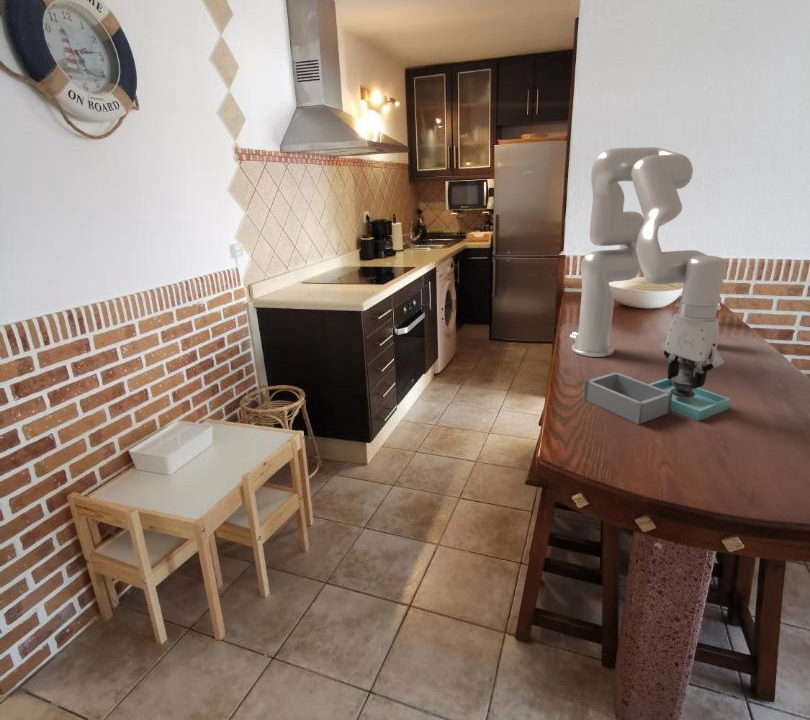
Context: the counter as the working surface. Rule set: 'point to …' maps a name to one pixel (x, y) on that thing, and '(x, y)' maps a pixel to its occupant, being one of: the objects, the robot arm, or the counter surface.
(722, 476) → the counter surface
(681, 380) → the grey stone turned piece
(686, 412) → the tray
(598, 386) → the deep rectangular frame
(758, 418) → the counter surface
